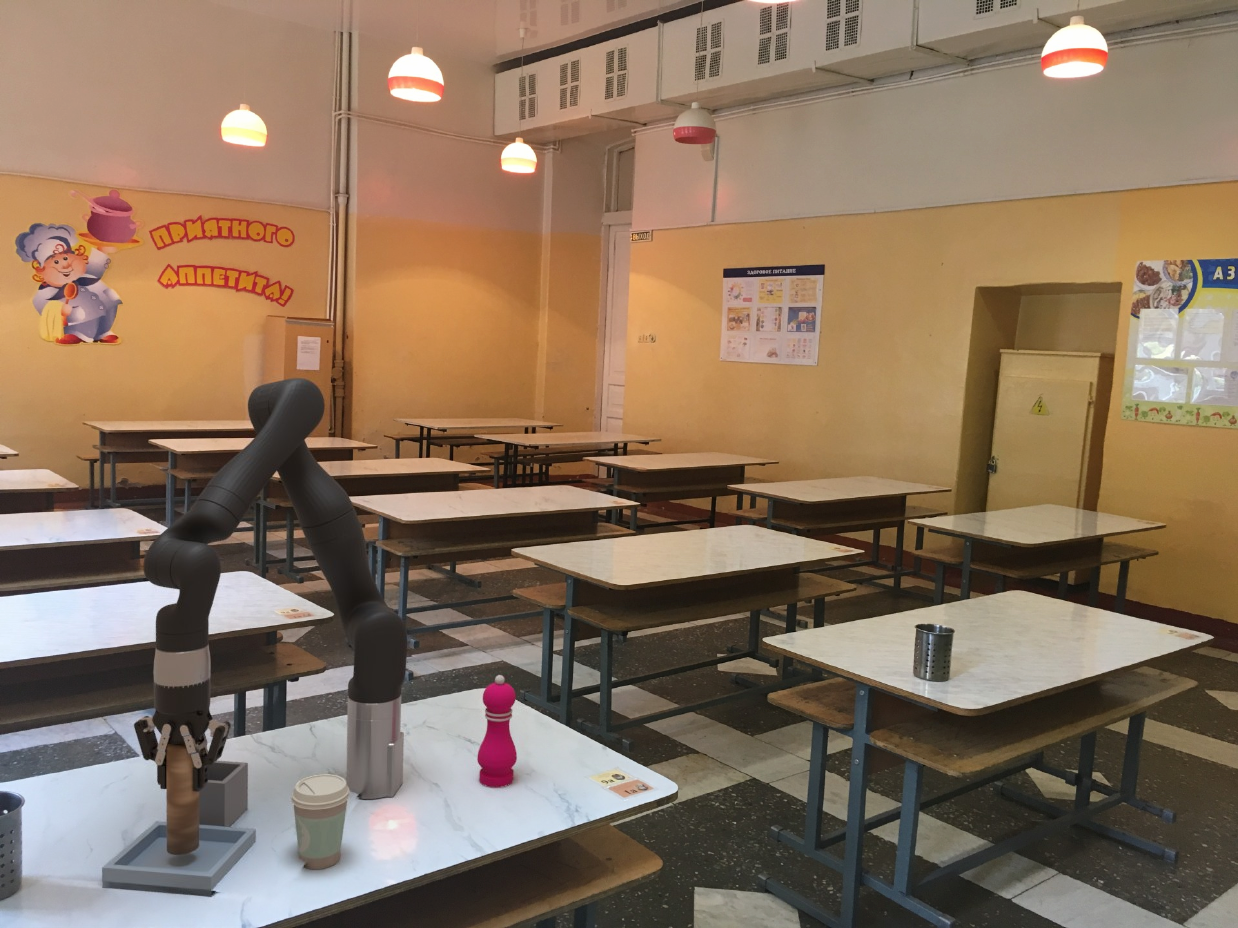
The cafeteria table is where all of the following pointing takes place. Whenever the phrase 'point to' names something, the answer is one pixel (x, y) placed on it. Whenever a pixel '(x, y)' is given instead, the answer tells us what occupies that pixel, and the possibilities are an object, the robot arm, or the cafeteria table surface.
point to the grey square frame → (224, 794)
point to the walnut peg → (181, 802)
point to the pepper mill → (497, 736)
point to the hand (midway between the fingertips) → (182, 787)
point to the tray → (177, 861)
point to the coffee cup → (320, 818)
